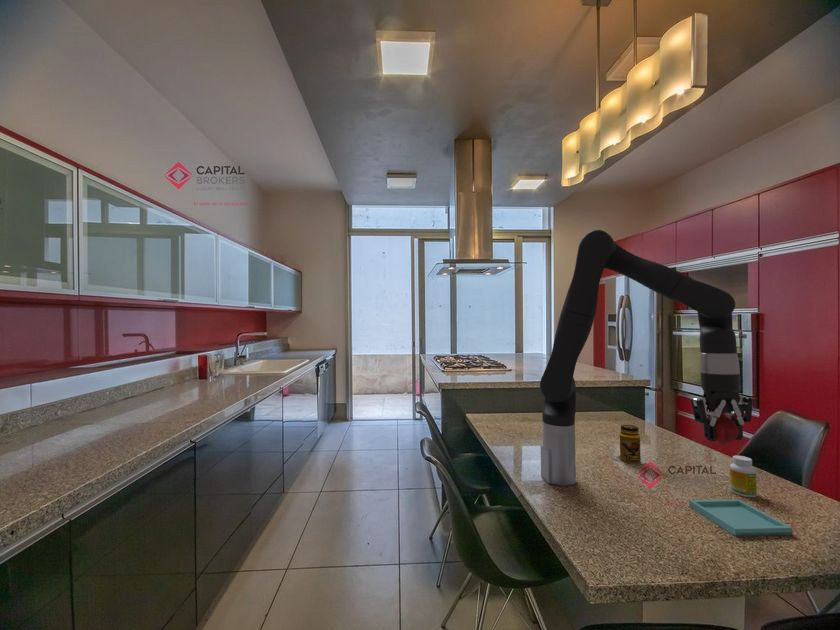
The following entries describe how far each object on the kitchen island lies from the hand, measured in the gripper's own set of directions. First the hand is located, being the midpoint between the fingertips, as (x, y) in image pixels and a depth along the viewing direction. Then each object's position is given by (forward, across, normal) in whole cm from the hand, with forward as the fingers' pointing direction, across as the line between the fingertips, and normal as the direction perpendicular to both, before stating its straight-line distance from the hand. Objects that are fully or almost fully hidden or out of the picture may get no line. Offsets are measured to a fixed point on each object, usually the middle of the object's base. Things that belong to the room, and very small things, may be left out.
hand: (724, 439), depth 88 cm
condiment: (+18, -2, +37) cm, 41 cm away
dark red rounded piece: (+1, 0, 0) cm, 1 cm away
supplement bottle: (+19, +15, +12) cm, 27 cm away
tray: (+19, +1, -1) cm, 19 cm away
